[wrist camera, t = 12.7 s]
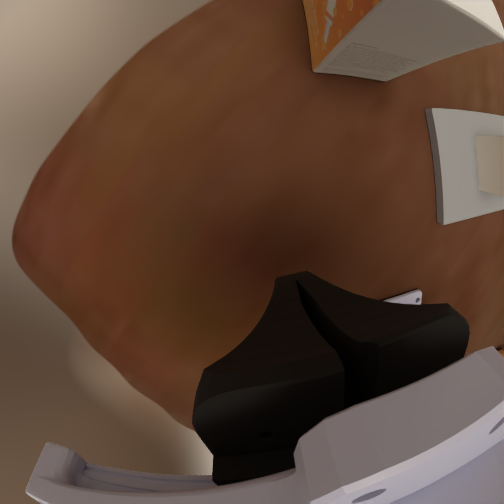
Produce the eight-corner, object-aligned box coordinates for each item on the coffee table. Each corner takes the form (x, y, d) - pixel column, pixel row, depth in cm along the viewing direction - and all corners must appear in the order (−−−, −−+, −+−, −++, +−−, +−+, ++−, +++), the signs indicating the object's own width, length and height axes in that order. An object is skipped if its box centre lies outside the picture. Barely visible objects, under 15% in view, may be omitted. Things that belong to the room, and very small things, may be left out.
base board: (518, 201, 19) (524, 203, 18) (437, 222, 20) (443, 224, 19) (512, 118, 16) (518, 119, 15) (424, 109, 17) (431, 107, 16)
